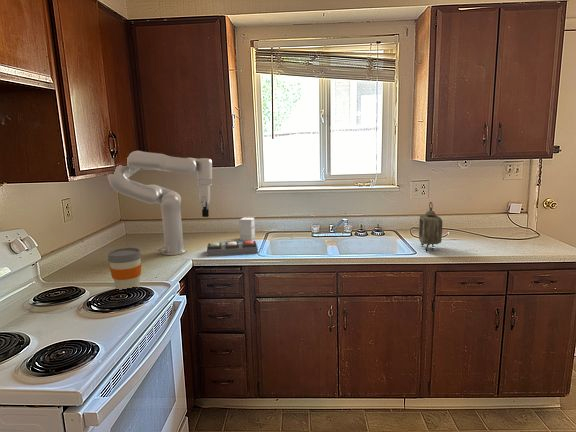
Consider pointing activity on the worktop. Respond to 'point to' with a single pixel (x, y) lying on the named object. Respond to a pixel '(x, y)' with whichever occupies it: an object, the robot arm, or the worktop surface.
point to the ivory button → (232, 243)
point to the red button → (249, 242)
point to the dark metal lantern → (430, 228)
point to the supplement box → (247, 229)
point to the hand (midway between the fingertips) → (205, 216)
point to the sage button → (214, 244)
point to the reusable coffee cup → (125, 267)
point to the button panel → (232, 249)
